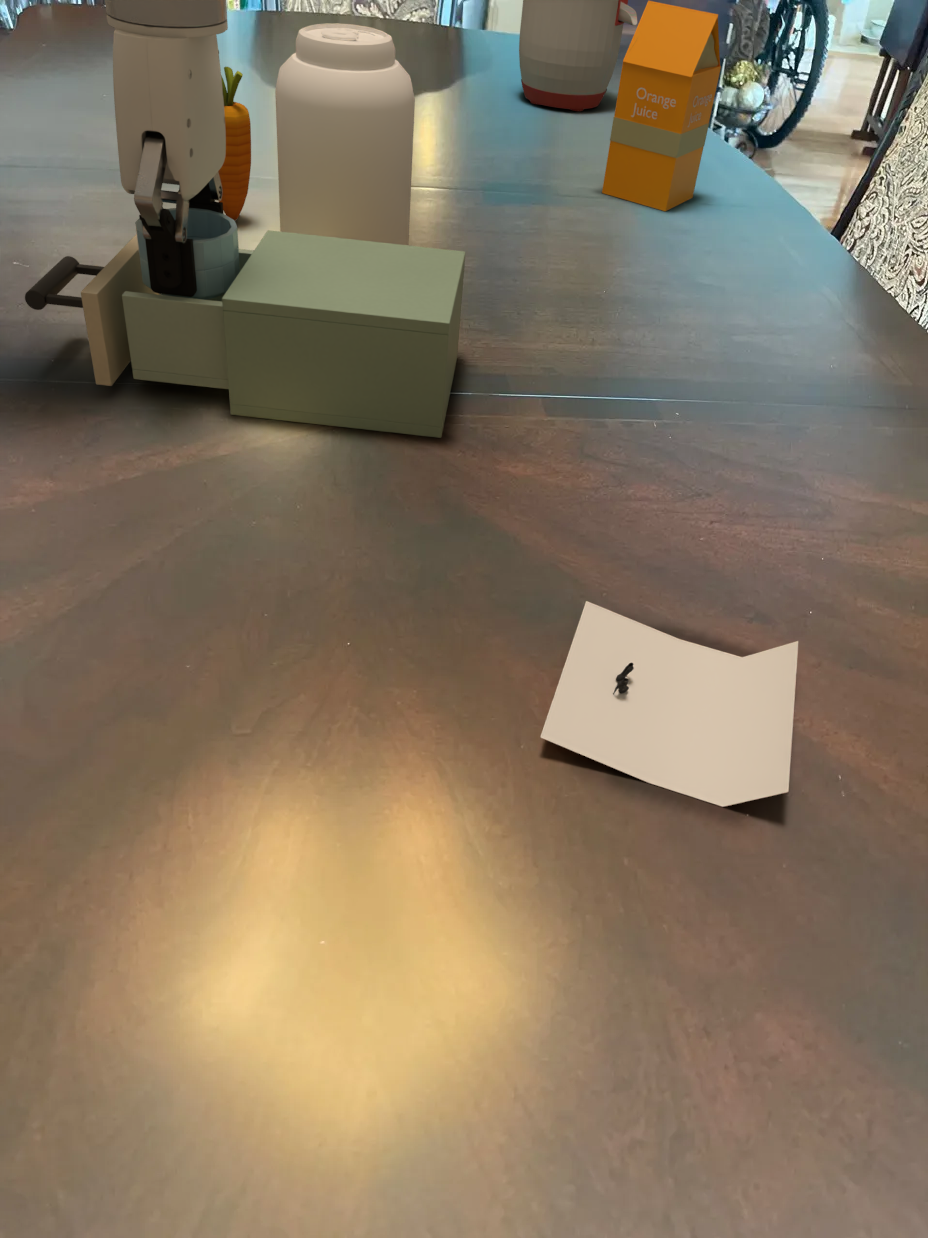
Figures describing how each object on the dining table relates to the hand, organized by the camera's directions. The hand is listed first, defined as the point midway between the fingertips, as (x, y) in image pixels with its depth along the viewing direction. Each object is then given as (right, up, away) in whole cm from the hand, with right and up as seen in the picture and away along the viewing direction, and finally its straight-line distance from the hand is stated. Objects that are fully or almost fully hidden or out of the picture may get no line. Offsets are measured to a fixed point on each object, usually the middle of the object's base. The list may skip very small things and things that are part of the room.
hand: (190, 270), depth 76 cm
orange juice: (+43, +26, +48) cm, 70 cm away
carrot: (-4, +15, +30) cm, 34 cm away
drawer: (-2, -5, +4) cm, 7 cm away
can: (+9, +10, +25) cm, 28 cm away
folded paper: (+32, -31, -21) cm, 49 cm away
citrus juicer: (+36, +53, +81) cm, 104 cm away
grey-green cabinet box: (+11, -7, +5) cm, 15 cm away
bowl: (0, -1, +1) cm, 1 cm away
